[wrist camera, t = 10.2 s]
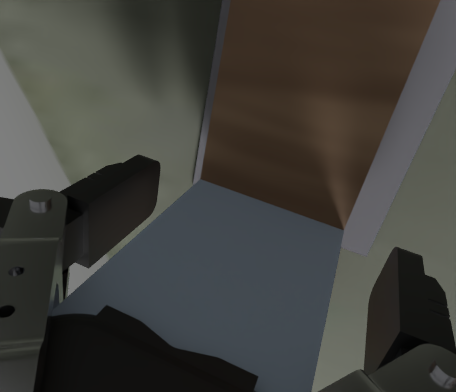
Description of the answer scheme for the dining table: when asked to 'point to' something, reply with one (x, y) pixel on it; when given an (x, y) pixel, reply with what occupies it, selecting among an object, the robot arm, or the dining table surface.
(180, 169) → the dining table surface
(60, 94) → the dining table surface
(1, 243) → the robot arm
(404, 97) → the felt strip
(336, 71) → the domino
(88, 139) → the dining table surface
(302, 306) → the domino
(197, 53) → the dining table surface
